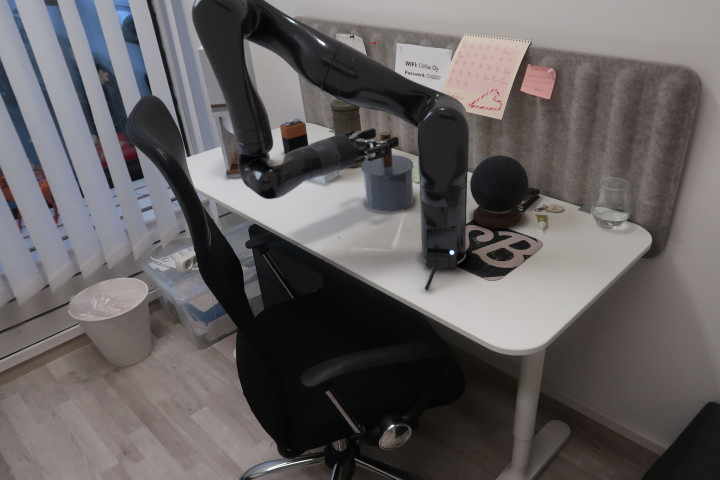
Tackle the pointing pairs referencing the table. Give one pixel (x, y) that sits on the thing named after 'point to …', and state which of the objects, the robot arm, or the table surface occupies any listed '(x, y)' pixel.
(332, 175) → the product box
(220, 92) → the white shelf tower
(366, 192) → the canister
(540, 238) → the table surface
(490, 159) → the black ball on stand
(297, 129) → the battery
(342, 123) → the container
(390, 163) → the lid
